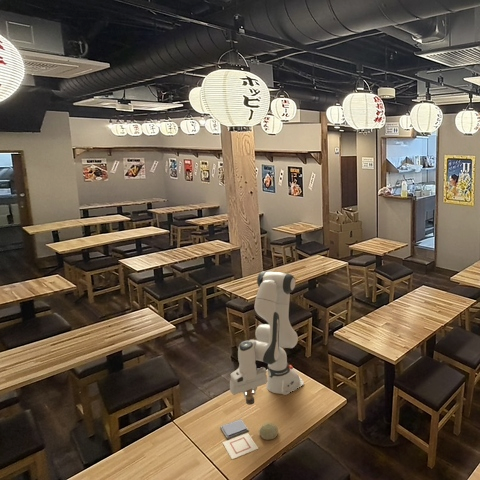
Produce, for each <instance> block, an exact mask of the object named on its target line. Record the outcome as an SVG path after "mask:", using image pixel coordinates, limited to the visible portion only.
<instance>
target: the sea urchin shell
mask: <svg viewBox="0 0 480 480" xmlns="http://www.w3.org/2000/svg"><path fill="white" fill-rule="evenodd" d="M258 431H259V435H260V436H261V438H262V439H264V440H268V441H269V440H274V439H275V438H276V437H277V436H278V432H279V431H278V427H277V426H276V425H275V424H273V423H270V422H267V423H264V424H263V425H262V426H261V427H260V428H259V430H258Z"/></svg>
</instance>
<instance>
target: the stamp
mask: <svg viewBox="0 0 480 480" xmlns="http://www.w3.org/2000/svg"><path fill="white" fill-rule="evenodd" d="M252 392H253V389H250V390H247V391H246V392H245V393H247V394H248V397H246V398H245V404H247V405H248V406H253V404H255V397H254V395H253V393H252Z"/></svg>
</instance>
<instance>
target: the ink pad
mask: <svg viewBox="0 0 480 480" xmlns="http://www.w3.org/2000/svg"><path fill="white" fill-rule="evenodd" d="M220 430H221V431H222V433H223V435H224V437H225V438H226V440H230V439H232V438H235V437H238V436H240V435H243V434H245V433H249V428H248V427H247V425H246V424H245V422H244V421H243V420H242V418H240V419H238V420H235V421H232V422H229V423H227V424H223V425H221V426H220Z"/></svg>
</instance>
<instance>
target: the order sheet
mask: <svg viewBox="0 0 480 480" xmlns="http://www.w3.org/2000/svg"><path fill="white" fill-rule="evenodd" d="M222 445H223V447H224V448H225V450H226V452H227V454H228V456H229V458H230V459H231V460H234V459H237V458H239V457H242V456H244V455H246V454H247V455H248V454H250V453H253V452H254V451H257V450H259V447H258V446H257V444H256V443H255V441H254V440H253V438H252V436H251V435H250V434H249V432H245V433H243V434H240V435H237V436H235V437H232V438H230V439H226V440H224V441H222Z"/></svg>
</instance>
